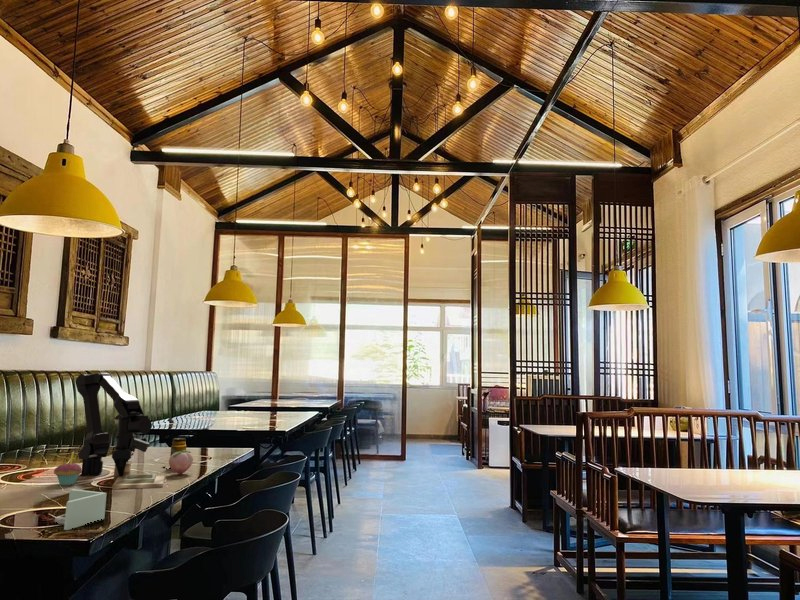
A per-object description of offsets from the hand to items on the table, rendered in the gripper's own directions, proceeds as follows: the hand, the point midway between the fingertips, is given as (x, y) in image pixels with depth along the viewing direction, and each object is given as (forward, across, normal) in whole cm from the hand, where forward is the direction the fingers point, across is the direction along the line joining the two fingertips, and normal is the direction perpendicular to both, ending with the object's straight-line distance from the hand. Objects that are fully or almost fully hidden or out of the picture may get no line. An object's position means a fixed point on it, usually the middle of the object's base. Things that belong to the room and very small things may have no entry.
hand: (122, 474), depth 209 cm
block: (+2, 0, 0) cm, 2 cm away
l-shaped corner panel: (+2, -61, +7) cm, 62 cm away
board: (+2, -11, -7) cm, 13 cm away
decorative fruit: (+2, +5, -20) cm, 21 cm away
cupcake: (+2, -6, +17) cm, 18 cm away
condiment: (+2, +22, -18) cm, 28 cm away
